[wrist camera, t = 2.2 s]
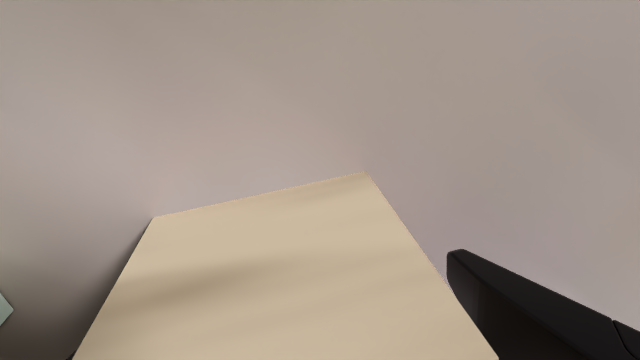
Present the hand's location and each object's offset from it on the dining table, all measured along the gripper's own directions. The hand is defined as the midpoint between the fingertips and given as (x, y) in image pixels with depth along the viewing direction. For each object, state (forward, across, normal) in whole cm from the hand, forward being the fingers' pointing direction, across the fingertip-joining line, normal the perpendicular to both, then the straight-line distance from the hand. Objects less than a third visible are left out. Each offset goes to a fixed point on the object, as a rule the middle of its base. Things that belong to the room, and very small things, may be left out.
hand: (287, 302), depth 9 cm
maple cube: (+1, 0, 0) cm, 1 cm away
